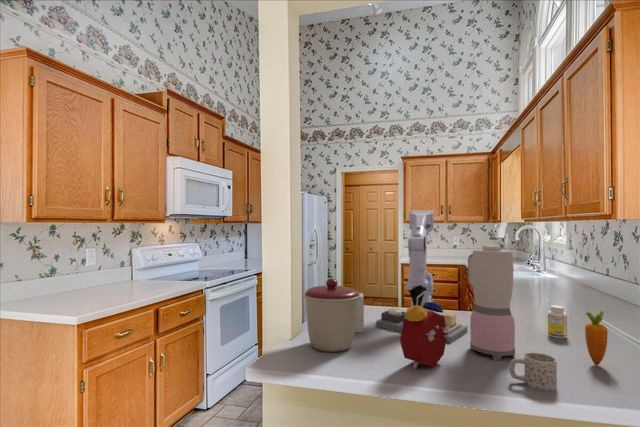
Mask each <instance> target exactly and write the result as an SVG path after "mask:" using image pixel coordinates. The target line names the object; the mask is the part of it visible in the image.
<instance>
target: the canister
mask: <svg viewBox="0 0 640 427" xmlns="http://www.w3.org/2000/svg"><path fill="white" fill-rule="evenodd" d="M325 284H326V285H319V286H318V285H317V286H313V287H310V288H308V289H306V290H305V291H304V292H303V293H302V296H303V298H304V300H305V301H304V302H305V303H304V304H305V312H306V324H307V331H308V337H309V342H310V344H311V346H312V347H313V348H315V350H317V351H318V350H319V351H321V352H327V353H329V352H330V353H331V352H332V353H338V352H341V351H346V350H348V349H349V348H351V346H352V345H353V342H354V338H355V333H356V332H355V326H356V318H357V309H358V299H359V298H360V296H361V294H360V293H361V292H358V291H357V290H356V289H354V288H353V287H350V286H349V287H348V286H344V285H343V286H342V285H338V280H337V279H335V278H329V279H327V280H326V282H325Z"/></svg>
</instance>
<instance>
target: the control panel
mask: <svg viewBox="0 0 640 427" xmlns="http://www.w3.org/2000/svg"><path fill="white" fill-rule="evenodd" d="M405 314H406V311H402V314H401V315H393V314H388V310H386V311H383V312H381V316H380V319H377V320H376V321H375V327H378V328H381V329H387V330H390V329H391V330H390V331H395V332H399V333H402V328H403V324H404V319H405ZM448 331H449V332H447V333H448V335H447V336H448V338H447V340H446V344H447V343H449V344H452V343H453V342H454V341H456V340H458V339H460V338H461V337H463V336H464V335H465V334H467V333H469V332H468V331H469V330H468V326H467V325H464V324H463V325H462V324H461V323H460V324H459V323H456V325H455V326H454V327H452V328H451V329H448Z"/></svg>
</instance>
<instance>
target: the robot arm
mask: <svg viewBox="0 0 640 427" xmlns="http://www.w3.org/2000/svg"><path fill="white" fill-rule="evenodd" d="M434 215H435V214H434V211H433V210H410V211H409V214H408V216H409V217H408V218H409V220H408V222H409V228H410V230H411V232H410V237H409V238H408V240H407V250H408V257H409V260H408V261H409V262H408V264H409V265H408V266H409V267H408V279H407V281H408V282H407V283H405V290H407V291H408V293H409V295H410V297H411V306H415V305H416V303H417V297H418V296H419V295H420V294H422V293H423V292H424V291H426V292H429V293H432V294H433V293H434V277H433V275H432V274H431V273H430V272H429V271H428V270H427V250H428V236H429V233H431V232H433V229H434V222H435V221H434V220H435V219H434V218H435V216H434ZM432 300H433V301H434V299H433V298H432ZM425 302H432V301H431V295H430V294H427V293H424V294H422V295H421V296H420V297H419V298H418V305H417V306H421V305H422V303H425ZM424 309H425V308H424ZM425 310H427V311H431V310H428V309H425Z"/></svg>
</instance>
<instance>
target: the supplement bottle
mask: <svg viewBox="0 0 640 427" xmlns="http://www.w3.org/2000/svg"><path fill="white" fill-rule="evenodd" d="M547 334H548V336H549V337H552V338H555V339H566V338H567V337H568V315H567V313H566V312H565V307H564V306H562V305H550V309H549V310H548V312H547Z"/></svg>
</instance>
